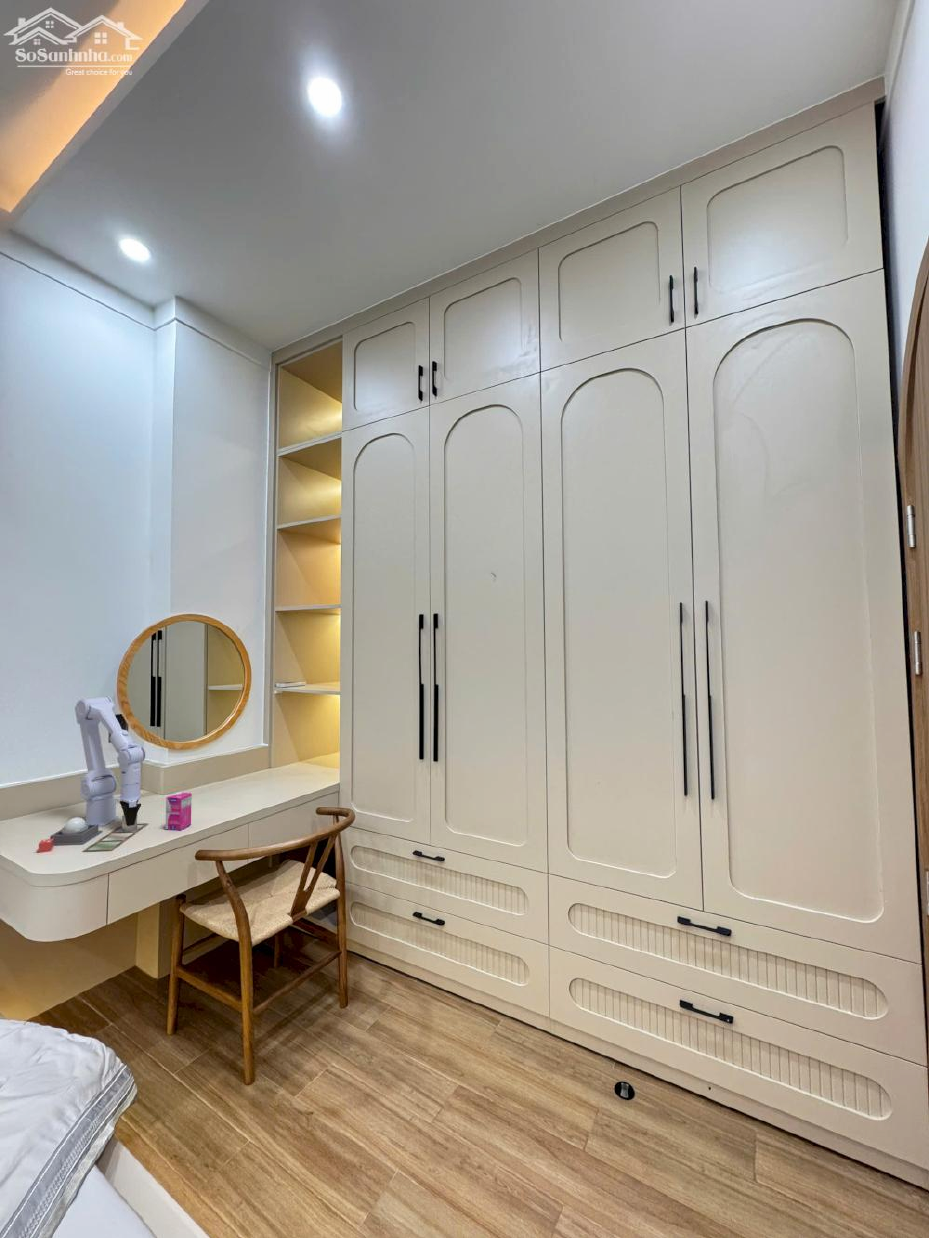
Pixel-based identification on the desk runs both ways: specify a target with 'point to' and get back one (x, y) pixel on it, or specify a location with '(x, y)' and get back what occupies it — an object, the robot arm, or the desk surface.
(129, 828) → the pawn
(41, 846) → the red die
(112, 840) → the compartment tray
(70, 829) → the dome
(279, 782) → the desk surface
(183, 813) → the supplement box
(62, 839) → the popper base
